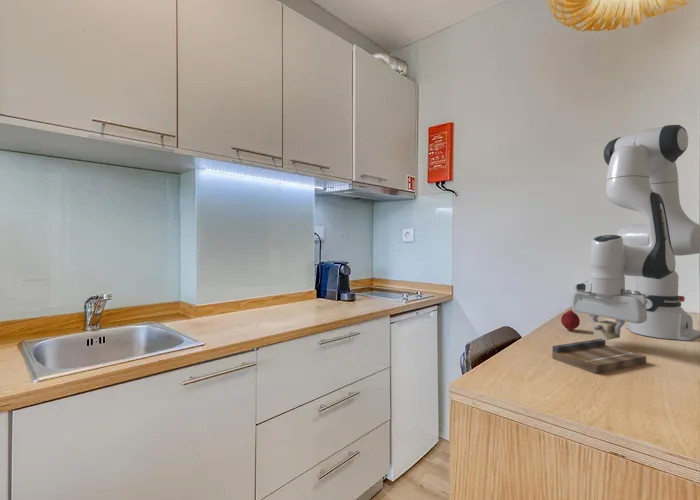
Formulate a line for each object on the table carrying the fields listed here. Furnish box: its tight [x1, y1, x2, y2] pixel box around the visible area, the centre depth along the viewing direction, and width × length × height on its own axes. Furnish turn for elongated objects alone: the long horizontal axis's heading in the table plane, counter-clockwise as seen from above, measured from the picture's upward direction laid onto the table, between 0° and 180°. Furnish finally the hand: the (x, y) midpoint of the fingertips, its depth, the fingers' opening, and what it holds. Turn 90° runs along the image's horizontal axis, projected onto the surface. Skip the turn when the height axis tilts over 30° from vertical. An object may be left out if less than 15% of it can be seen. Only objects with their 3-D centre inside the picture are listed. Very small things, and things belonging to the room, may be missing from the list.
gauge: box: [593, 319, 621, 341], centre depth 108 cm, size 10×4×4 cm, turn 111°
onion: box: [560, 308, 581, 332], centre depth 126 cm, size 6×6×8 cm
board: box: [551, 338, 647, 375], centre depth 95 cm, size 20×12×4 cm, turn 111°
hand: (606, 331), depth 108 cm, fingers closed on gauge, 4 cm apart
